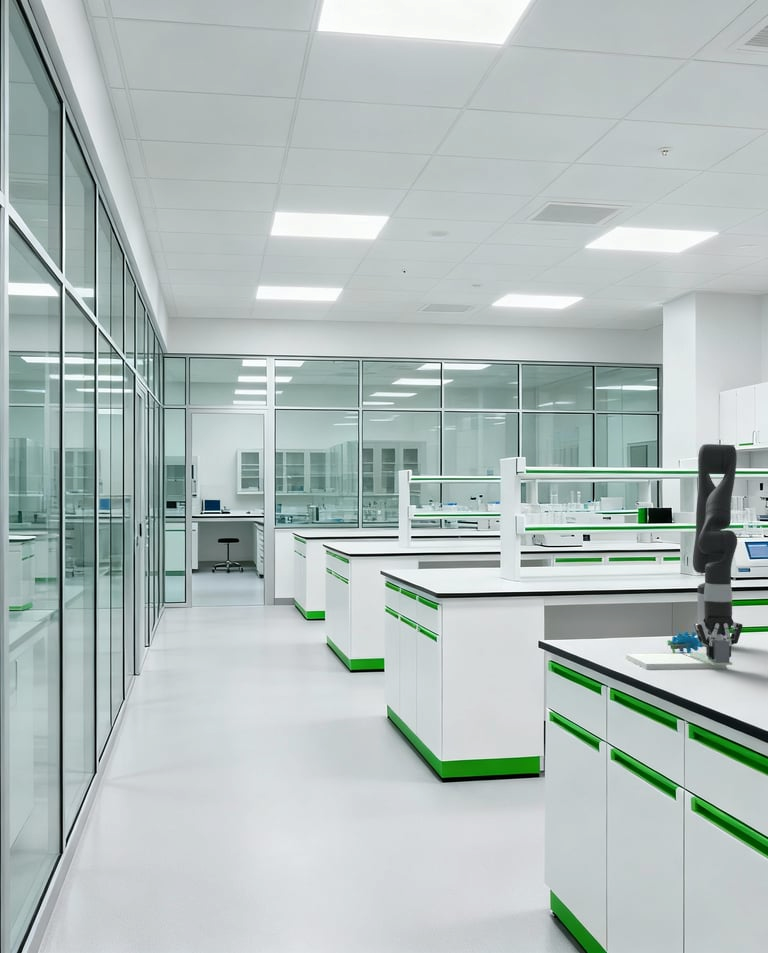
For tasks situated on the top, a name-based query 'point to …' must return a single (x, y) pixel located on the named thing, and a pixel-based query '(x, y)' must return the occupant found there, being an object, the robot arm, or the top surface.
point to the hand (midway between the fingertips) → (718, 658)
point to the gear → (685, 642)
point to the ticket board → (669, 661)
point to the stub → (716, 653)
